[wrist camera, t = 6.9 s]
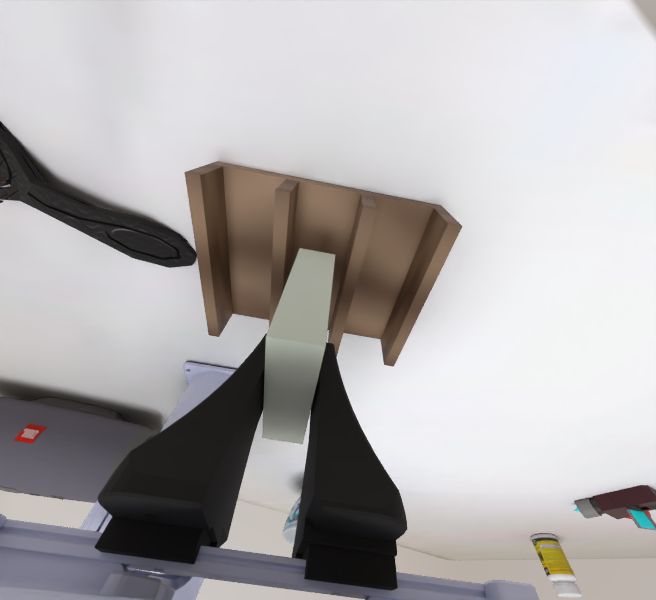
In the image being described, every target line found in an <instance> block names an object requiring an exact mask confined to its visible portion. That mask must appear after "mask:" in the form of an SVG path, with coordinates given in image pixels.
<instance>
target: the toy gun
mask: <svg viewBox="0 0 656 600" xmlns="http://www.w3.org/2000/svg"><path fill="white" fill-rule="evenodd" d="M575 504H576V506H577V508H576V509H575V510H574V511H580V512H581V513H582V515H583V516H584V517H585V518H592V517H597V516H602V514H604V513H606V514H608V515H610V516H612V517H614V518H616V519H621V518H629V519H633V521H634V522H635V524H636V525H637V526H638V528H643V529H651V530H656V524H655V523H654V521H653V520H652V519H651V515H650V513H649V510H653V509H655V510H656V491H654V490H653V489H651V487H649V486H648V485H640V486H636V487H631V488H627V489H623V490H618V491H614V492H609V493H605V494H600V495H596V496H593V498H586V499H581V500H577V501H575Z"/></svg>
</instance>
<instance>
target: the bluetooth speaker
mask: <svg viewBox="0 0 656 600" xmlns="http://www.w3.org/2000/svg"><path fill="white" fill-rule="evenodd" d="M156 434H158V433H157V431H156V430H153V429H150V428H147V427H145V426H142V425H138V424H134V423H130V422H126V421H124V420H121V417H120V415H119V413H118V412H115V411H112V410H109V409H106V408H102V407H97V406H93V405H88V404H83V403H78V402H74V401H69V400H64V399H58V398H50V397H44V398H40V399H37V400H33V401H27V400H21V399H12V398H6V397H0V490H3V491H8V492H14V493H24V494H30V495H36V496H44V497H51V498H58V499H62V500H63V499H68V500H76V501H84V502H93V503H96V502H97V500H98V499H97V498H98V495H99V493H100V492H101V490H102V489H103V487H104V486H105V484H106V483H107V481H108V480H109V478H110V477H111V475H112V474H113V472H114V471H115V469H116V468H117V467H118V466H119V464H120V463H121V462H122V461H123V459H124V458H125V457H126V456H127V455H128V453H129V452H130V451H131V450H133V449H134V448H136V447H137V446H139V445H141V444H142V443H144V442H145V441H147V440H149V439H150V438H152V437H153V436H155V435H156Z"/></svg>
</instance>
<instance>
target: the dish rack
mask: <svg viewBox="0 0 656 600" xmlns="http://www.w3.org/2000/svg"><path fill="white" fill-rule="evenodd" d="M185 177H186V184H187V191H188V197H189V204H190V211H191V218H192V225H193V231H194V238H195V245H196V252H197V258H198V265H199V272H200V279H201V285H202V292H203V299H204V306H205V312H206V319H207V326H208V333H209V335H211V336H217V337H219V336H220V334H221V332H222V331H223V329H224V327H225V326H226V324H227V322H228V321H229V319H230V317H231V316H232V314H239V315H244V316H250V317H256V318H262V319H267V320H269V327H270V325H271V322H272V319H273V317H274V314H275V312H276V309H277V306H278V304H279V301H280V299H281V296H282V293H283V291H284V288H285V285H286V283H287V280H288V278H289V275H290V272H291V270H292V267H293V264H294V262H295V259H296V257H297V254H298V251H299V249H300V248H302V249H308V250H313V251H318V252H324V253H329V254H334V255H335V263H334V272H333V282H332V291H331V300H330V310H329V319H328V328H327V330H329V338H328V343H333V344H334V345H335V353H336V356H337V353H338V349H339V346H340V342H341V339H342V335H343V333H348V334H354V335H360V336H365V337H371V338H377V339H381V345H382V353H383V360H384V365H388V366H394V365H395V363H396V361H397V358H398V356H399V354H400V352H401V350H402V348H403V346H404V344H405V342H406V340H407V338H408V336H409V334H410V332H411V330H412V328H413V326H414V324H415V322H416V320H417V318H418V316H419V314H420V312H421V309H422V307H423V305H424V303H425V301H426V299H427V297H428V295H429V293H430V291H431V289H432V287H433V285H434V283H435V281H436V279H437V277H438V275H439V273H440V271H441V269H442V267H443V265H444V263H445V261H446V258H447V256H448V254H449V252H450V250H451V248H452V246H453V244H454V242H455V240H456V238H457V236H458V234H459V232H460V230H461V228H462V225H460V224H459V223H458V222H457V221H456V220H455V219H454V218H453V217H452V216H451V215H450V214H449V213H448V212H447V211H446V210H445V209H444V208H443V207H442V206H440V205H435V204H430V203H425V202H419V201H414V200H409V199H404V198H399V197H394V196H389V195H384V194H379V193H374V192H369V191H364V190H359V189H354V188H348V187H343V186H338V185H333V184H328V183H323V182H318V181H313V180H308V179H303V178H298V177H293V176H288V175H283V174H277V173H272V172H267V171H262V170H257V169H252V168H247V167H242V166H237V165H232V164H227V163H222V162H214V163H211V164H208V165H205V166H202V167H199V168H196V169H193V170H190V171H187V172H185Z"/></svg>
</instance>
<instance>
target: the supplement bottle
mask: <svg viewBox="0 0 656 600" xmlns="http://www.w3.org/2000/svg"><path fill="white" fill-rule="evenodd" d="M531 539H532V542H533V544H534V546H535V549H536V551H537V553H538V556H539V558H540V560H541V563H542V565H543V567H544V570H545V572H546V574H547V576H548V578H549V579H550V580H551V581H552V582H553V583H554V588H555V590H556V593H557V595H558V596H561V597H581V596H582V593H581V592H580V589H579V587H578V585H577V584H575V581H576V576H575V574H574V572H573V570H572V568H571V566H570V564H569V562H568V560H567V558H566V556H565V554H564V552H563V550H562V548H561V546H560V543H559V541H558V539H557V537H556V536H554V535H552V534H536V535H533V536H532V537H531Z"/></svg>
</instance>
